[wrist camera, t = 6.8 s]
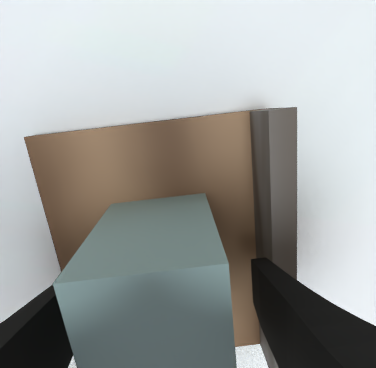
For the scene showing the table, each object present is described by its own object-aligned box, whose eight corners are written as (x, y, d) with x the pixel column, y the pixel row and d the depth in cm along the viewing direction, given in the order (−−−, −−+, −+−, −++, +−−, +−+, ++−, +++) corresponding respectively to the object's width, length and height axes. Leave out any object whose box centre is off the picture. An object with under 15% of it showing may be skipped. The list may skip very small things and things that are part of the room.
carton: (132, 308, 14) (99, 446, 8) (111, 203, 12) (52, 284, 7) (217, 297, 14) (244, 428, 8) (207, 192, 12) (233, 262, 7)
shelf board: (91, 352, 16) (69, 413, 12) (33, 135, 12) (-18, 143, 9) (275, 330, 16) (300, 385, 13) (270, 108, 12) (302, 106, 9)
